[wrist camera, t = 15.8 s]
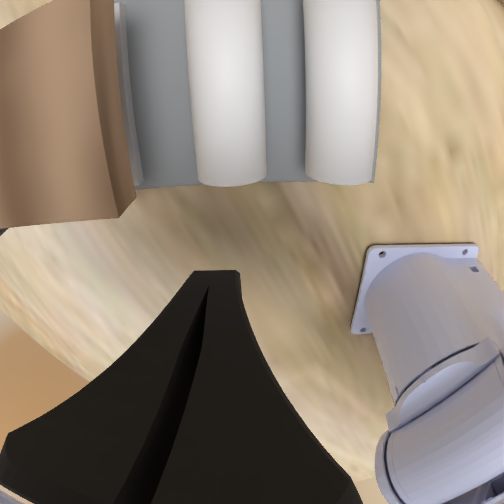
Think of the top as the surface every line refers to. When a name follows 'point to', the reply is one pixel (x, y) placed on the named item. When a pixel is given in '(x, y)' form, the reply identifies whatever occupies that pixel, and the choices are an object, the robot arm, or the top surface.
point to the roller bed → (175, 91)
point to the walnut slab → (62, 117)
